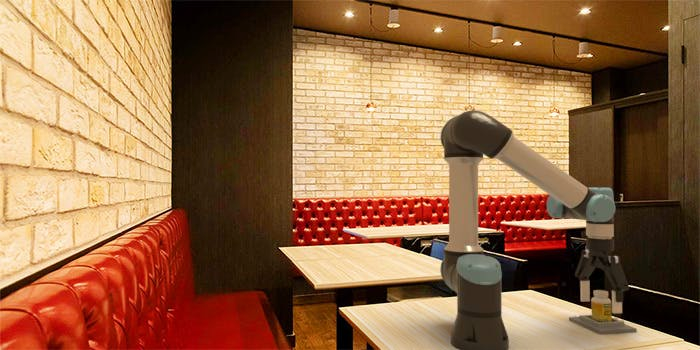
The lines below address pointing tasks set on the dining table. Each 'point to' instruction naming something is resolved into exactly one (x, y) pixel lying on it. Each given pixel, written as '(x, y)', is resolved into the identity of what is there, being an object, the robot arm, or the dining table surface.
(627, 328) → the socket board
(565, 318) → the dining table surface
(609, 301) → the supplement bottle
